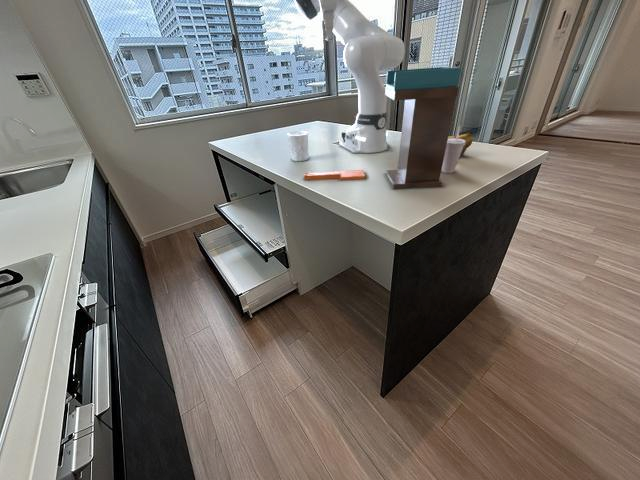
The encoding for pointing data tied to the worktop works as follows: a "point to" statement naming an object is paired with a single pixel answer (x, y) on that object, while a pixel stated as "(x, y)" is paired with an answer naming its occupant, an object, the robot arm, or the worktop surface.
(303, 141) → the white cup
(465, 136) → the bread roll
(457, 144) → the smoothie
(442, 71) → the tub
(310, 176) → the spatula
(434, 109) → the stand
